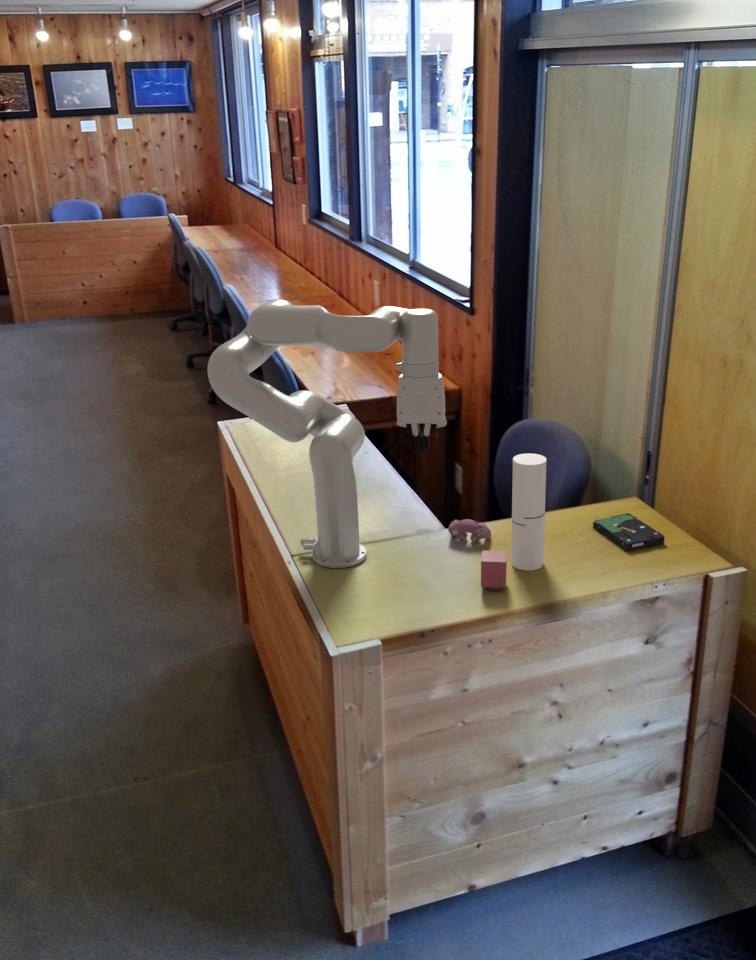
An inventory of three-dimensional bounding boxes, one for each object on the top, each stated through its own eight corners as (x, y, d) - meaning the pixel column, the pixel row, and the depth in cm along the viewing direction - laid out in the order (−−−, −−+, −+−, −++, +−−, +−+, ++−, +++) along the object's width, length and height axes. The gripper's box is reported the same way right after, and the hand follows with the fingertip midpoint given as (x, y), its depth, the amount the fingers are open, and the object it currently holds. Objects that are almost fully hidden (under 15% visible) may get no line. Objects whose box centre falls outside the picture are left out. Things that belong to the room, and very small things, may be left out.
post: (487, 589, 198) (487, 560, 196) (488, 584, 201) (488, 555, 198) (499, 590, 198) (500, 560, 195) (500, 584, 200) (500, 555, 198)
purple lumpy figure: (448, 545, 223) (445, 526, 218) (453, 530, 226) (449, 511, 221) (489, 549, 220) (486, 530, 215) (493, 534, 223) (490, 515, 218)
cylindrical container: (542, 571, 205) (545, 465, 196) (510, 569, 207) (511, 464, 198) (543, 557, 212) (547, 453, 203) (512, 555, 213) (514, 452, 204)
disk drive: (664, 546, 216) (627, 522, 229) (666, 535, 215) (628, 511, 228) (626, 554, 213) (591, 529, 226) (627, 543, 212) (592, 519, 225)
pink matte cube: (480, 586, 197) (481, 561, 195) (482, 575, 202) (482, 550, 199) (505, 587, 196) (506, 562, 194) (506, 576, 201) (506, 551, 199)
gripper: (382, 373, 192) (385, 457, 199) (455, 374, 190) (455, 458, 196) (387, 364, 199) (390, 445, 206) (457, 364, 197) (458, 446, 203)
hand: (422, 451), depth 201 cm, fingers closed
